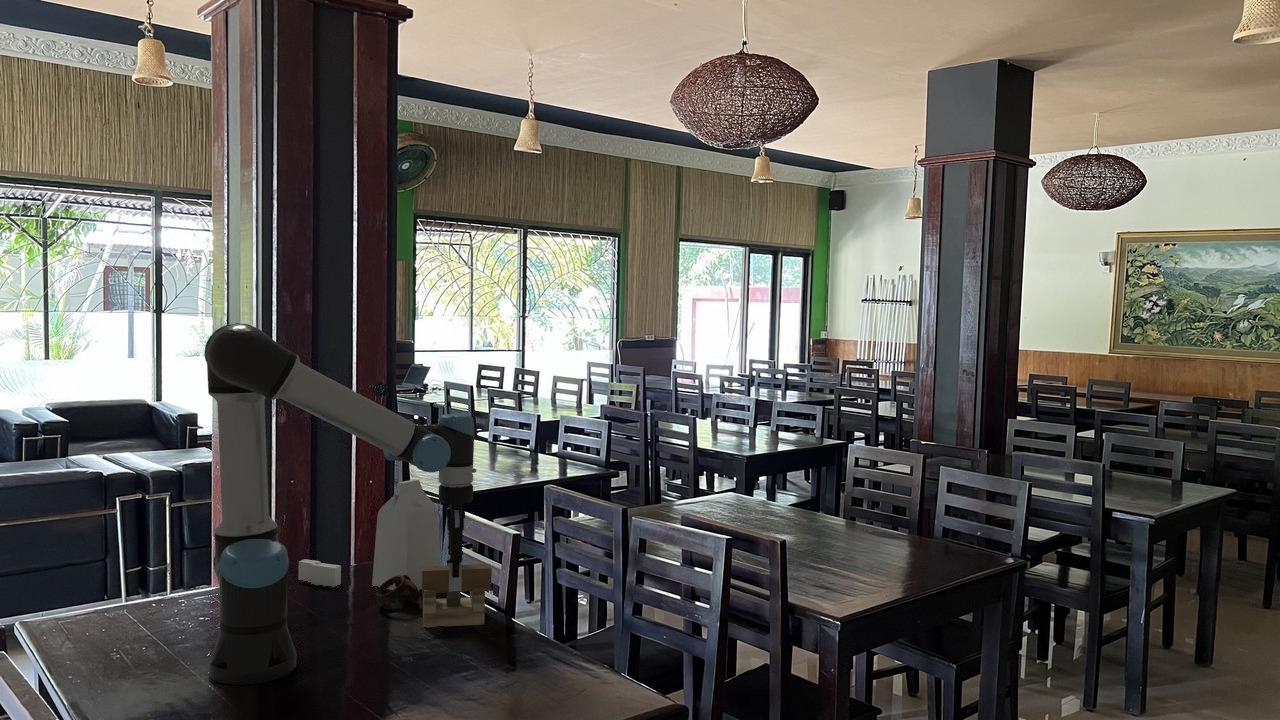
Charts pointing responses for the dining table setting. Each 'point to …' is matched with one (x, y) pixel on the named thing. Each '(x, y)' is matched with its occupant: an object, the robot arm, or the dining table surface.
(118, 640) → the dining table surface
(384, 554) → the milk
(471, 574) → the brown wooden block
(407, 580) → the brown looped band sculpture
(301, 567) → the napkin holder
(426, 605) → the display stand
